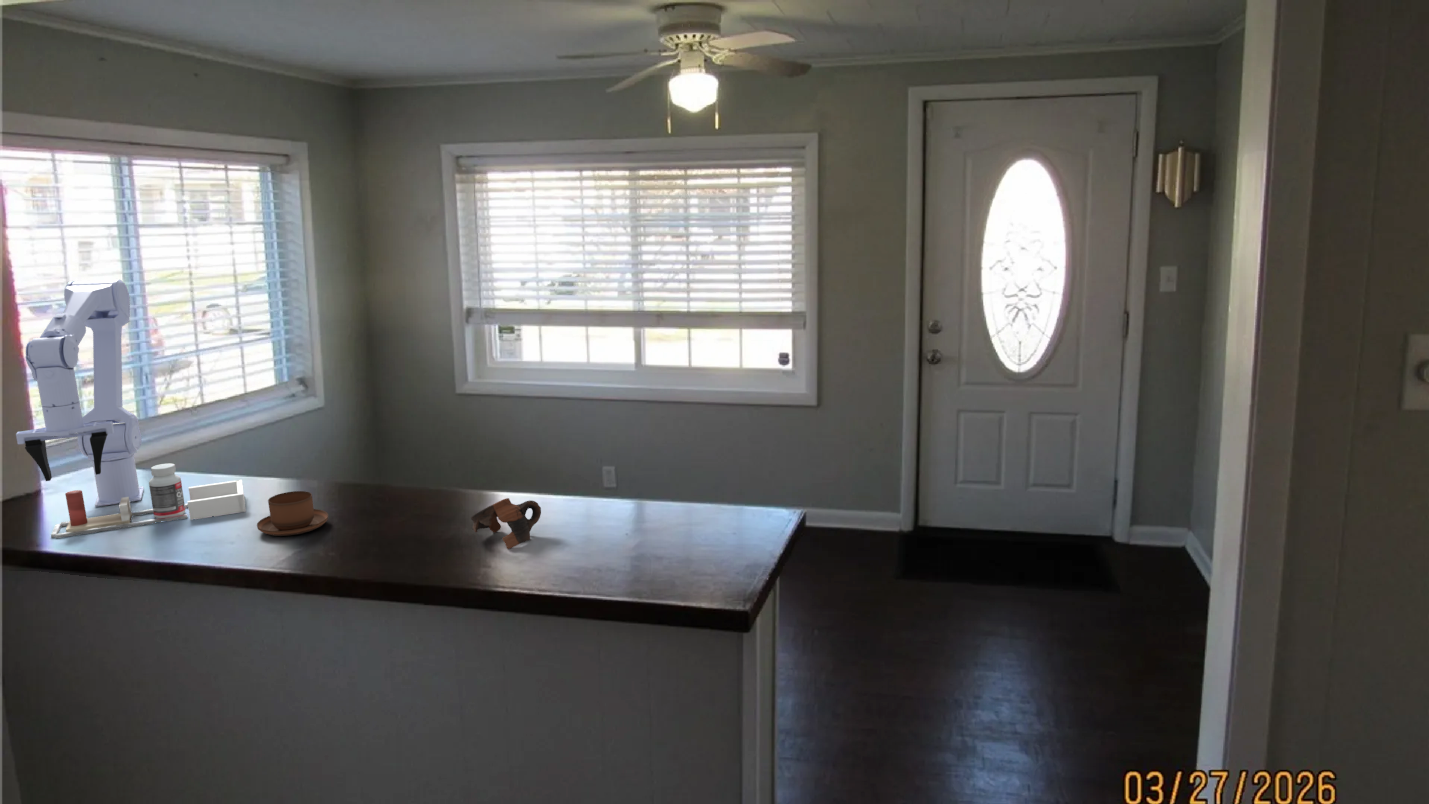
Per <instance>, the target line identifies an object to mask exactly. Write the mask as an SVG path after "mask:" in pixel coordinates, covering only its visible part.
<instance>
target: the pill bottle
mask: <svg viewBox="0 0 1429 804" xmlns="http://www.w3.org/2000/svg"><path fill="white" fill-rule="evenodd" d="M176 470H177V469H176V464H174V463H161V464H156V465H153V466H152V467H150V472H151V476H152V478H150V479H149V481H148V486H149V491H150V498H151V500H150V501H151V505H152V509H153V512H154V513H153V516H154V519H158V518H165V517H171V516H178V515H184V514H186V508H185V504H186V503H185V497H184V491H183V485H182V478H181V476H180V475H178V474H176Z"/></svg>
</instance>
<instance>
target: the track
mask: <svg viewBox="0 0 1429 804" xmlns="http://www.w3.org/2000/svg"><path fill="white" fill-rule="evenodd" d="M184 504H185V509H188V508H187V507H188V503H184ZM131 512H132V517H134V516H141V515H142V514H143V515H147V514H148V513H149V514H154V512H153V508H151V509H150V508H149V509H143V510H136V511H131ZM149 514H148V515H149ZM143 515H142V516H143ZM177 519H180V520H185V519H188V514H187V513H184V514H183V515H178V516H171V517H165V518H153V519H144V520H139V521H133V522H132V521H131V523H125V524H119V525H112V526H105V527H99V528H92V529H86V530H79V531H72V532H66V531H65V532H60V530H61V528H63V527H67V526H68V523H69V521H70V520H68V521H61V522H60V523H56V524H55V525H54V527H53V529H52V531H51V534H50V538H52V539H54V538H55V539H62V538H68V537H74V536H75V537H76V536H82V535H87V534H95V533H100V532H107V531H115V530H121V529H126V528H134V527H140V526H139V525H141V526H144V525H143V524H147V525H153V524H152V523H154V524H156V523H155V522H160V523H162V522H161V521H167V522H171V521H172V520H173V521H178V520H177ZM59 532H60V533H59Z"/></svg>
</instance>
